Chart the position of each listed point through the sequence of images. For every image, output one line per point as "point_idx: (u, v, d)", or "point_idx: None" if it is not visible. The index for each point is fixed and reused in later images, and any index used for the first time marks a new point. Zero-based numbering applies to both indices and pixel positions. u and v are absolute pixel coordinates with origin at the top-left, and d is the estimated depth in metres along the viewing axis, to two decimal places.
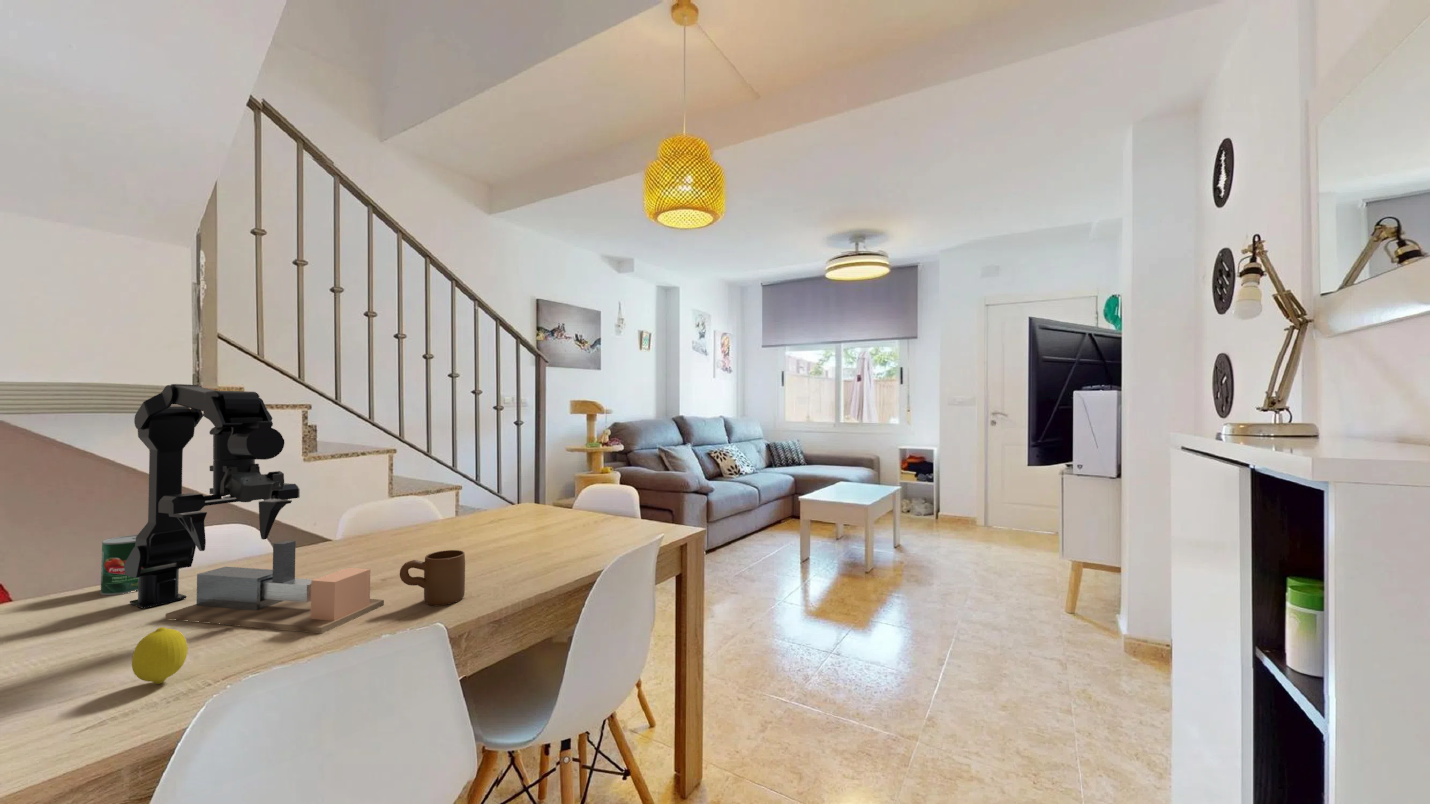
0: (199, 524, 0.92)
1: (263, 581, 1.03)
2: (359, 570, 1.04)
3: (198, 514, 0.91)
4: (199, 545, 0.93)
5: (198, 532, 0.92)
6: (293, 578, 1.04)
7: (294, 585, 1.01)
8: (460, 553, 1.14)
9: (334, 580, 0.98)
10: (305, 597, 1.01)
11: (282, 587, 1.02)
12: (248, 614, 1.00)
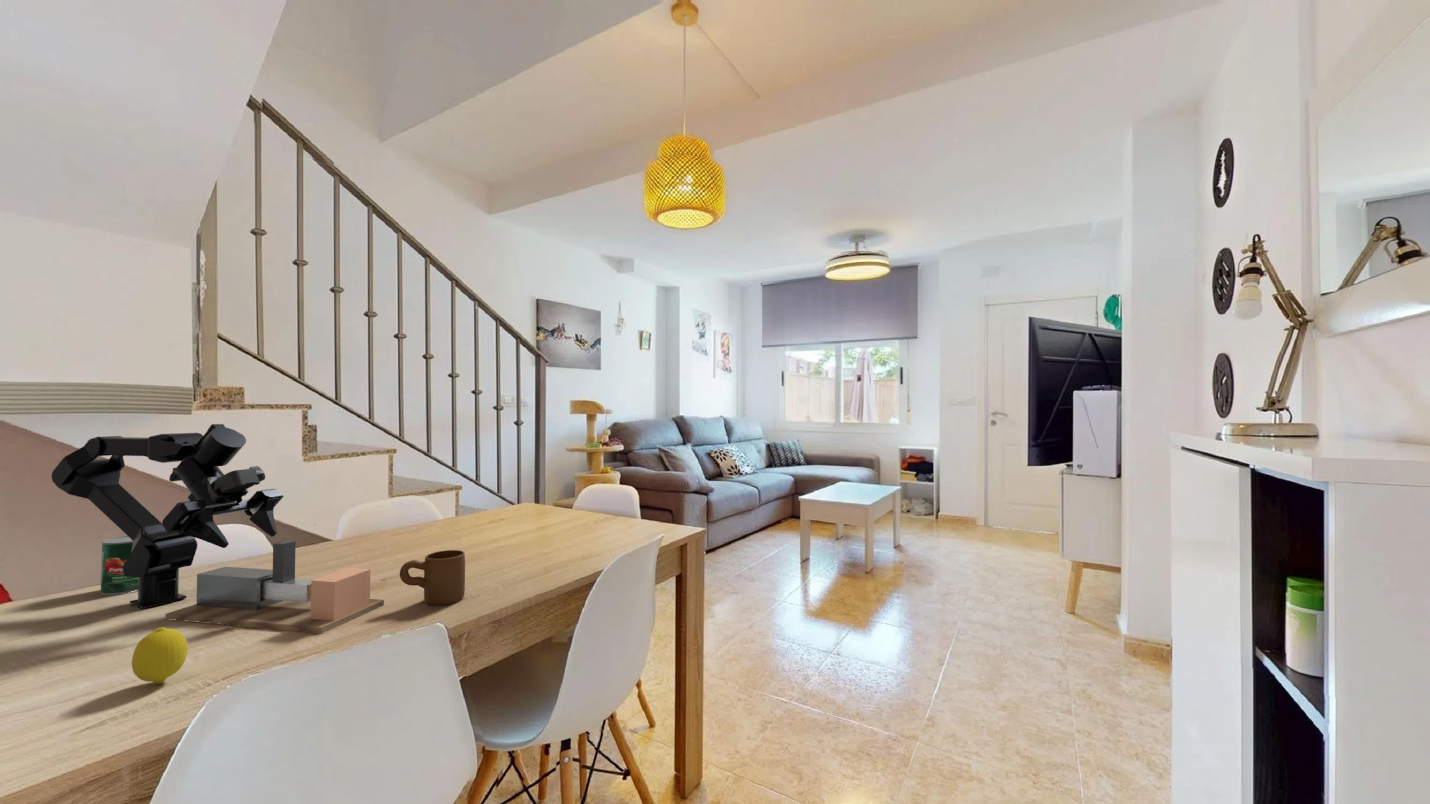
0: (211, 523, 1.00)
1: (263, 581, 1.03)
2: (359, 570, 1.04)
3: (205, 511, 0.99)
4: (221, 541, 1.00)
5: (214, 529, 1.00)
6: (293, 578, 1.04)
7: (294, 585, 1.01)
8: (460, 553, 1.14)
9: (334, 580, 0.98)
10: (305, 597, 1.01)
11: (282, 587, 1.02)
12: (248, 614, 1.00)
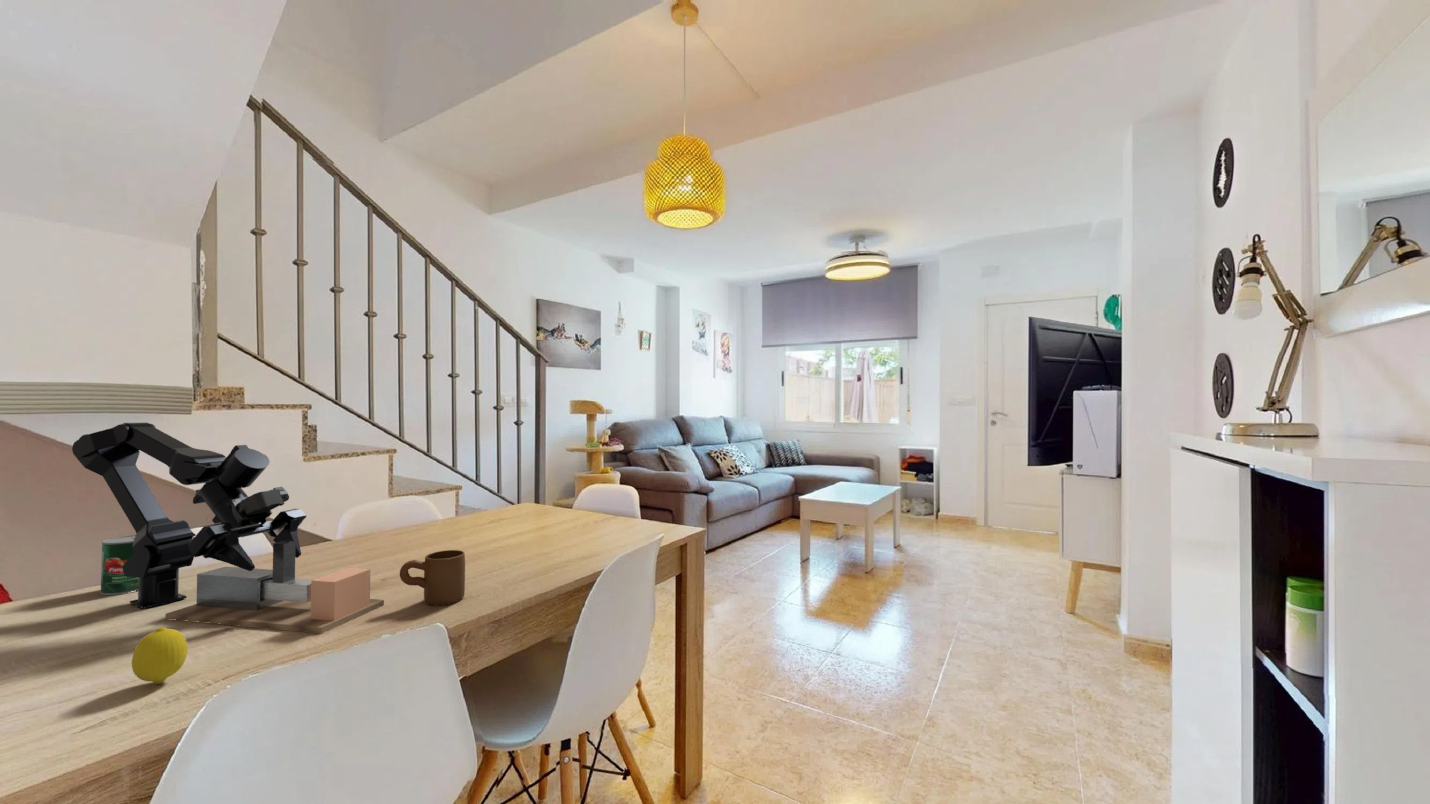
0: (237, 546, 0.99)
1: (263, 581, 1.03)
2: (359, 570, 1.04)
3: (231, 534, 0.98)
4: (247, 564, 0.99)
5: (240, 552, 0.99)
6: (293, 578, 1.04)
7: (294, 585, 1.01)
8: (460, 553, 1.14)
9: (334, 580, 0.98)
10: (305, 597, 1.01)
11: (282, 587, 1.02)
12: (248, 614, 1.00)
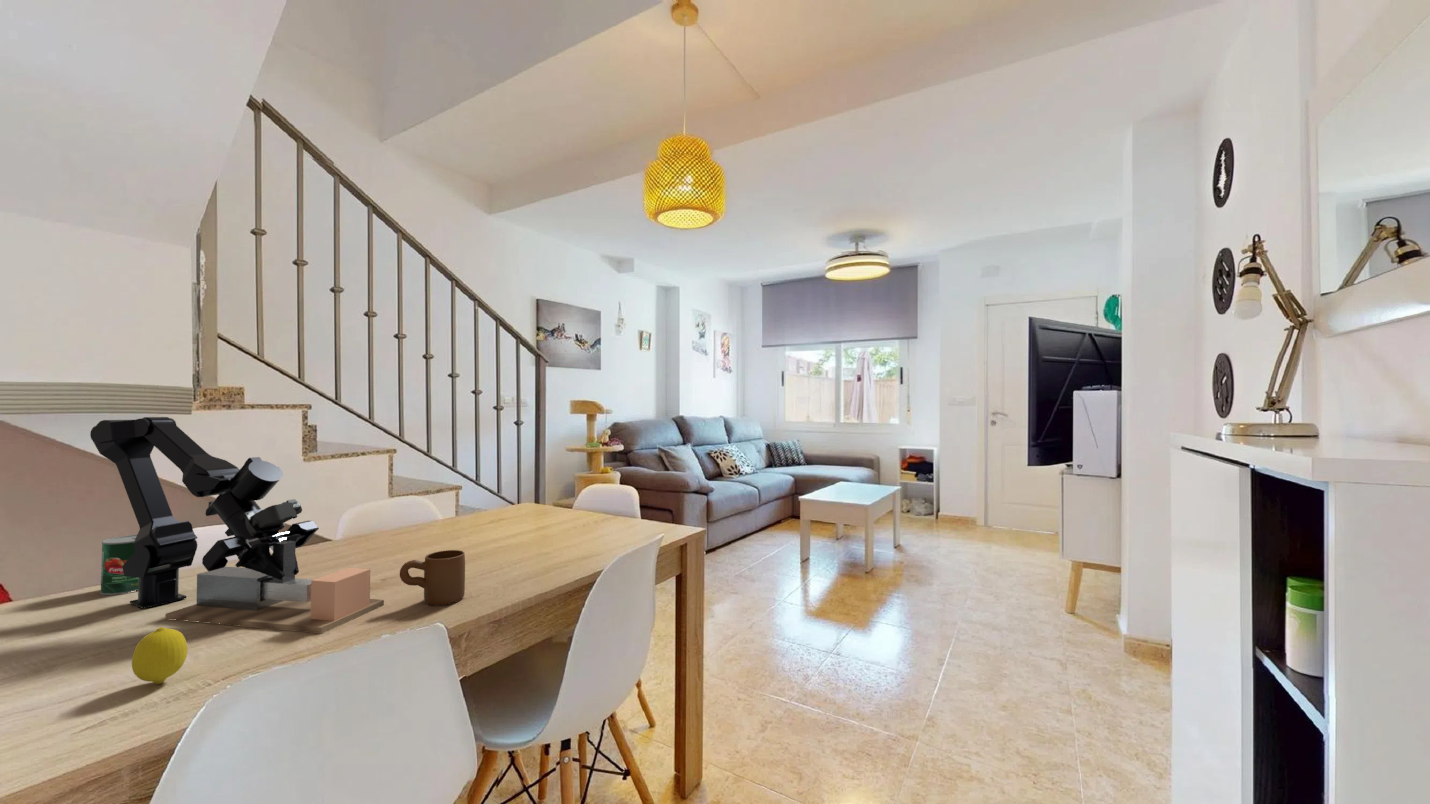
0: (268, 555, 1.02)
1: (263, 581, 1.03)
2: (359, 570, 1.04)
3: (263, 543, 1.01)
4: (278, 573, 1.02)
5: (271, 561, 1.02)
6: (293, 578, 1.04)
7: (294, 585, 1.01)
8: (460, 553, 1.14)
9: (334, 580, 0.98)
10: (305, 597, 1.01)
11: (282, 587, 1.02)
12: (248, 614, 1.00)
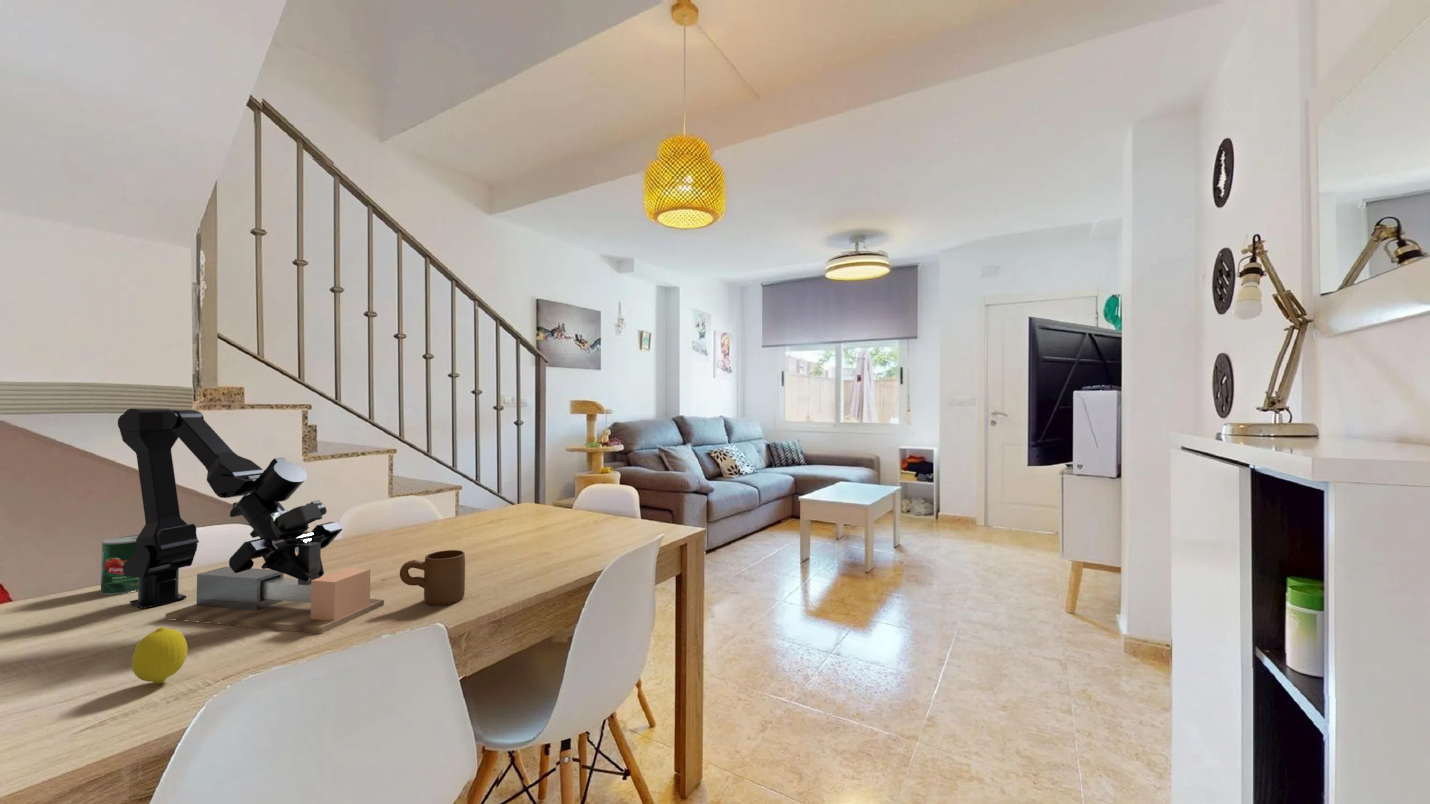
0: (293, 557, 1.01)
1: (288, 583, 1.02)
2: (359, 570, 1.04)
3: (288, 545, 1.00)
4: (304, 575, 1.01)
5: (297, 563, 1.01)
6: None
7: None
8: (460, 553, 1.14)
9: (334, 580, 0.98)
10: None
11: (307, 589, 1.01)
12: (248, 614, 1.00)
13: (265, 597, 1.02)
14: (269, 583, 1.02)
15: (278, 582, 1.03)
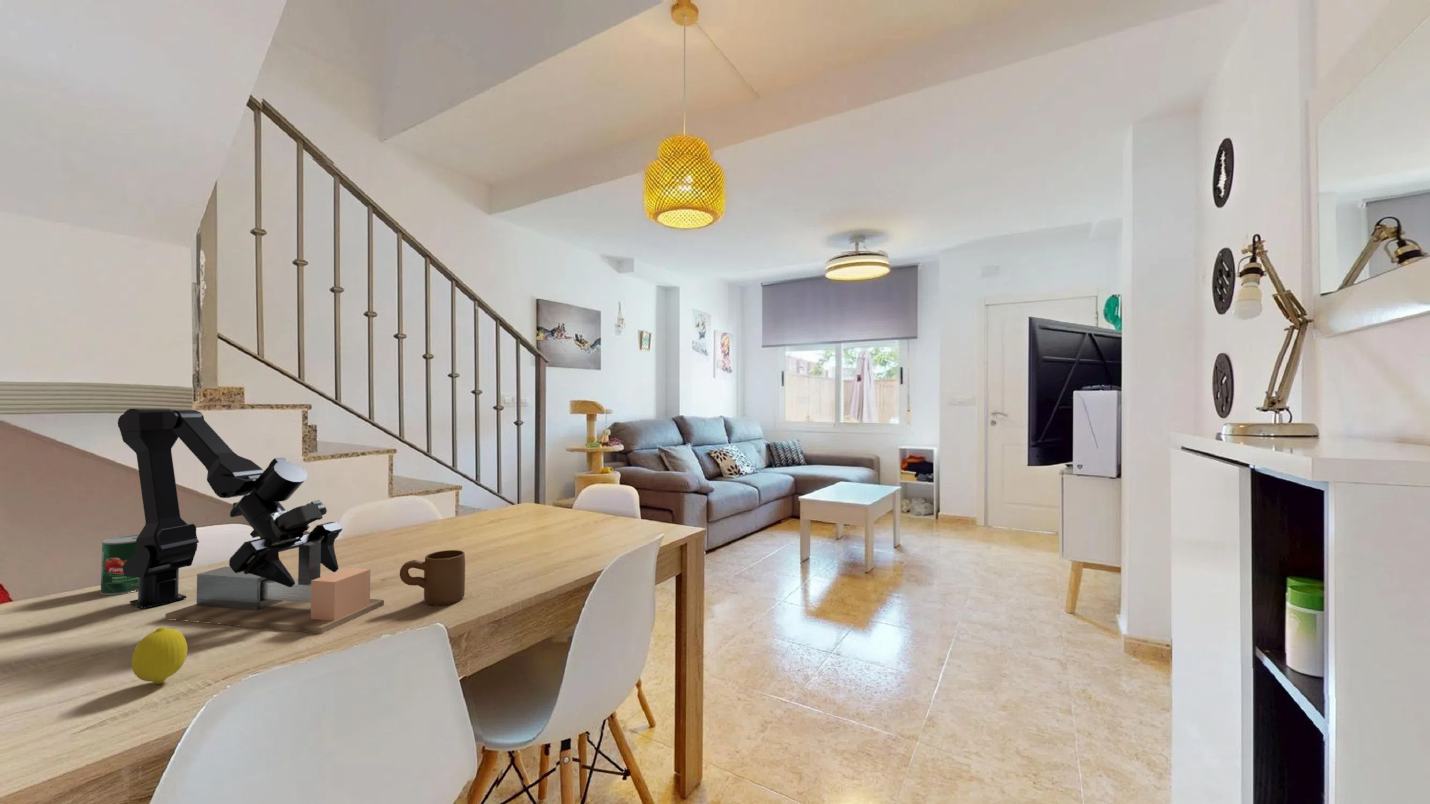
0: (277, 561, 0.98)
1: None
2: (359, 570, 1.04)
3: (272, 549, 0.97)
4: (288, 580, 0.98)
5: (280, 568, 0.97)
6: None
7: None
8: (460, 553, 1.14)
9: (334, 580, 0.98)
10: None
11: (308, 589, 1.01)
12: (248, 614, 1.00)
13: (265, 597, 1.02)
14: (269, 583, 1.02)
15: None
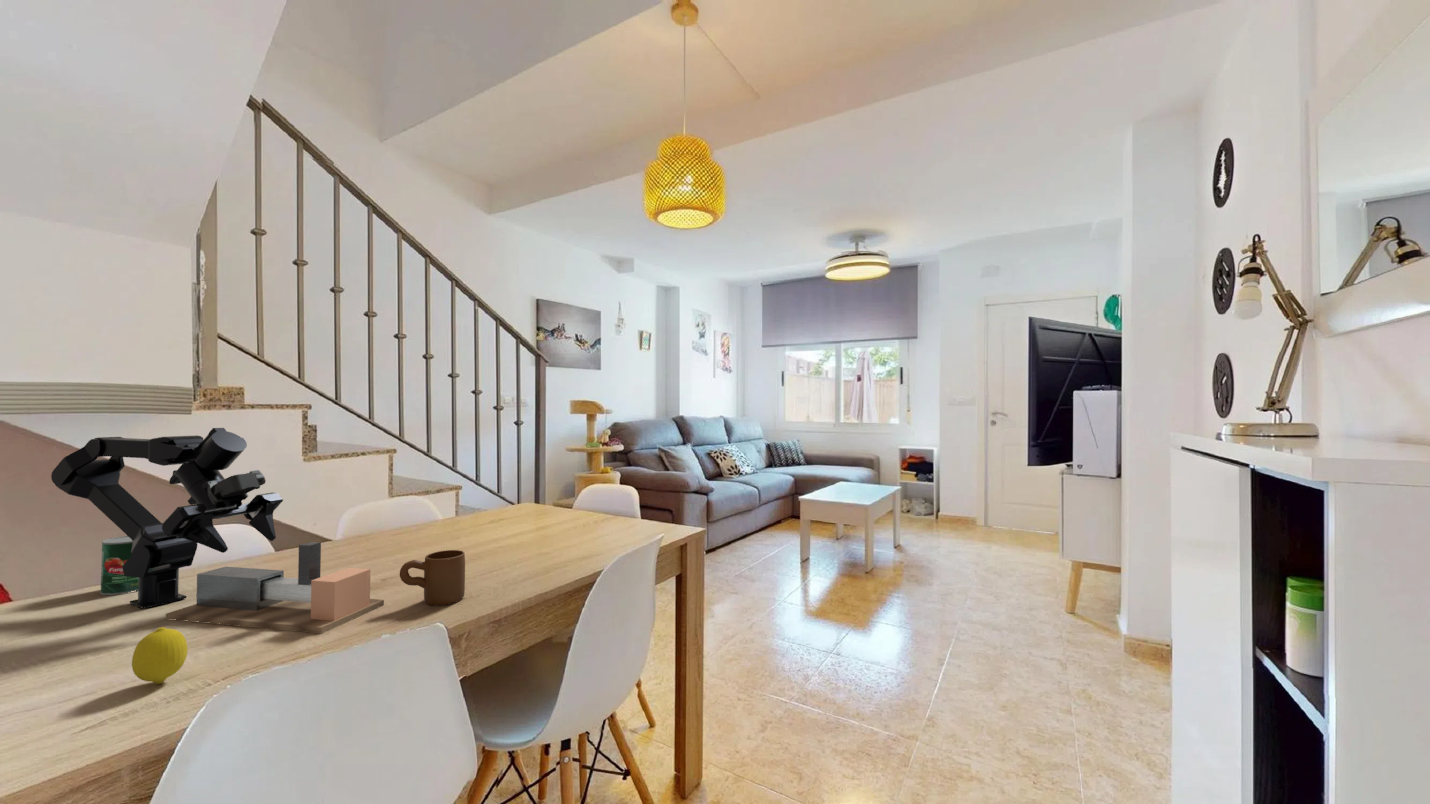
0: (210, 527, 1.00)
1: (288, 583, 1.02)
2: (359, 570, 1.04)
3: (205, 515, 1.00)
4: (220, 546, 1.00)
5: (213, 534, 1.00)
6: None
7: None
8: (460, 553, 1.14)
9: (334, 580, 0.98)
10: None
11: (308, 589, 1.01)
12: (248, 614, 1.00)
13: (265, 597, 1.02)
14: (269, 583, 1.02)
15: (278, 582, 1.03)
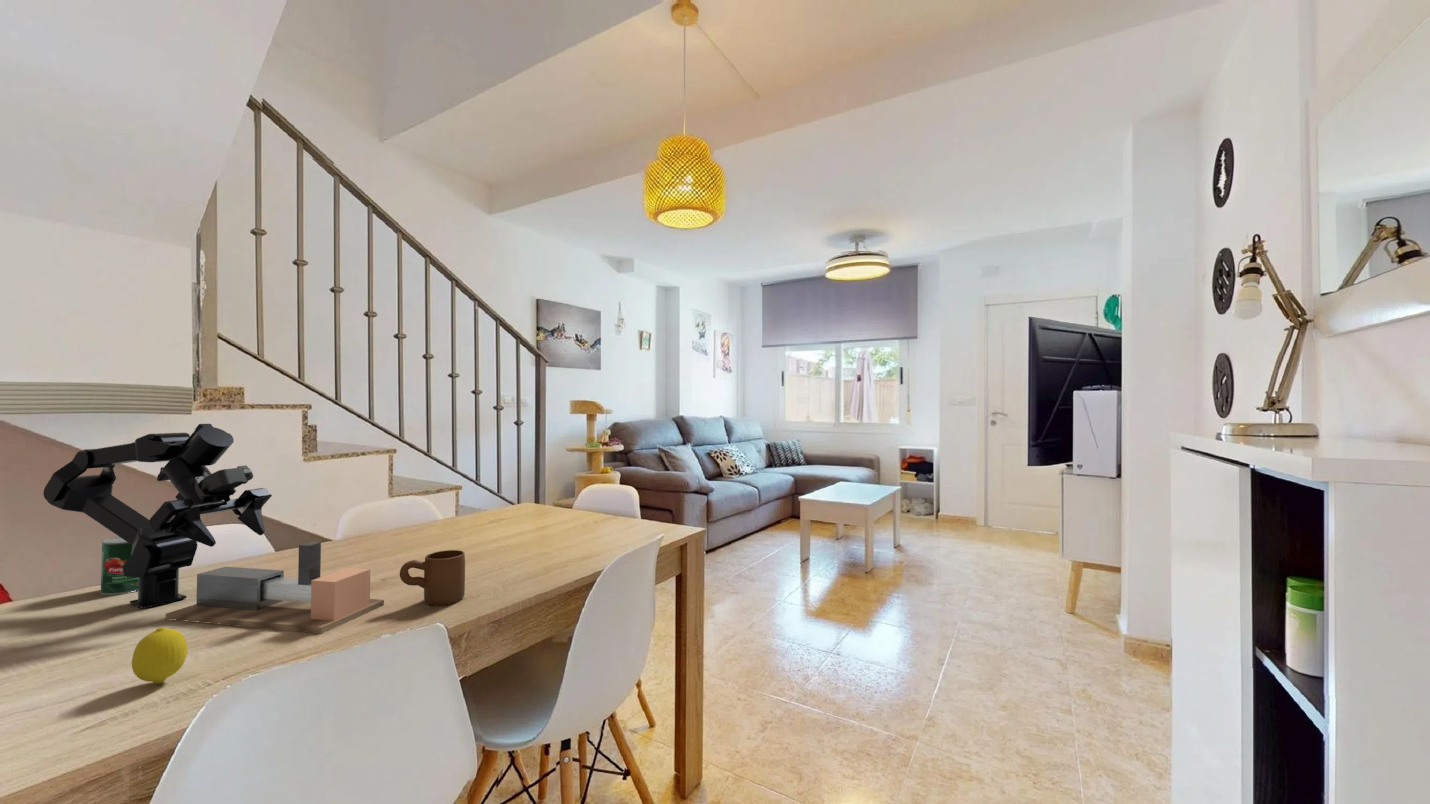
0: (198, 521, 1.01)
1: (288, 583, 1.02)
2: (359, 570, 1.04)
3: (192, 509, 1.00)
4: (208, 540, 1.01)
5: (201, 528, 1.00)
6: None
7: None
8: (460, 553, 1.14)
9: (334, 580, 0.98)
10: None
11: (308, 589, 1.01)
12: (248, 614, 1.00)
13: (265, 597, 1.02)
14: (269, 583, 1.02)
15: (278, 582, 1.03)
